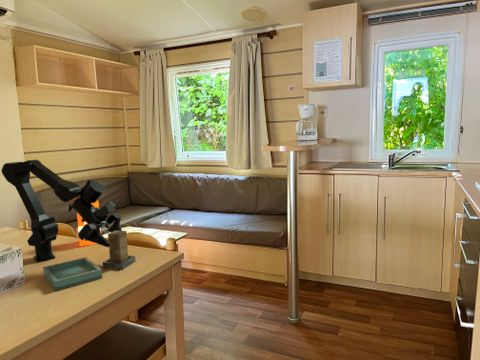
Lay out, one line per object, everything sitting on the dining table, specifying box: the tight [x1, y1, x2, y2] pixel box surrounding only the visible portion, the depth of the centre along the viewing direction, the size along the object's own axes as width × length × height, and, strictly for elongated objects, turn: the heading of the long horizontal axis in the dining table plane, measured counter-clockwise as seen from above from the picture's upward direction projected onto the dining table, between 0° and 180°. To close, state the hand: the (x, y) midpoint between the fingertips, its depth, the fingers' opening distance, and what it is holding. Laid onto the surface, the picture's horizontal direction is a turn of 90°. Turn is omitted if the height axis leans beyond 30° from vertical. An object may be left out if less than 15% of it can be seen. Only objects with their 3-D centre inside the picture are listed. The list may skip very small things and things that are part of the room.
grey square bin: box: [102, 254, 136, 270], centre depth 127 cm, size 8×8×2 cm
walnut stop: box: [107, 230, 129, 263], centre depth 127 cm, size 4×4×12 cm
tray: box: [42, 256, 103, 292], centre depth 117 cm, size 16×14×3 cm
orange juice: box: [76, 199, 102, 247], centre depth 153 cm, size 8×9×20 cm
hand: (116, 242), depth 127 cm, fingers open, 9 cm apart
